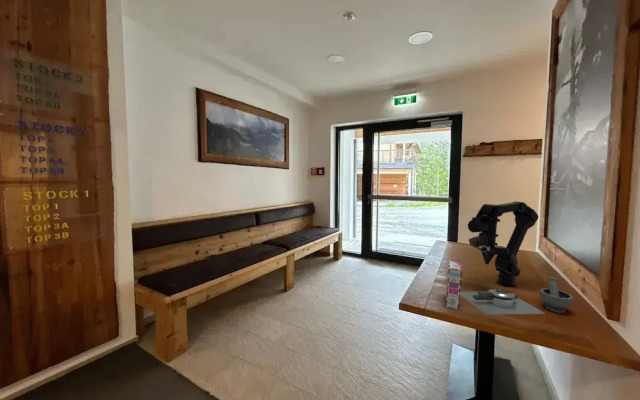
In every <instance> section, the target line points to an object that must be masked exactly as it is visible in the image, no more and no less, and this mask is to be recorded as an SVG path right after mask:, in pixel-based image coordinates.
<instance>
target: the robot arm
mask: <svg viewBox="0 0 640 400" xmlns="http://www.w3.org/2000/svg"><path fill="white" fill-rule="evenodd" d="M506 213H512V214H513V216H514V222H515V227H514V229H513V231H512V233H511V236H510V238H509V240H508V242H507V244H506V247H504V246H502V245H499V244H498V242H496V240H497V238H498V237H499V234H497V228H498V227H497V226H498V223H500V222H501V219H499V218H500V217H502V215H504V214H506ZM538 220H539V214H538V213H537V211H535V209H533V208H532V207H530V206H528V204H527V203H525V202H524V201H512V202H506V203H501V204H492V203H484V204H482V205H481V207H480V209H478V212H477V214H476V215H475V216H473V217H471V220H470V221H469V222H468V223H467V228H468V231H469V232H470V233H474V234H475V233H478V235H477V236H474V237H470V238H468V242H469V246H470V247H473V248H476V249H477V250H478V251H479V252H481V254H482V257H483V261H484V264H485V265H489V264H490V262H491V261H492V260H493V258H494V257H495V256H496V257H495V258H494V267H495V270H496V271H498V275H497V280H496V281H495V283H496V284H499V285H501V286H503V288H518V285H516V278H517V277H519V276H520V275H521V272H522V271H521V270H520V268H519V267H518V263H519V261H518V258H517V255H518V252H519V250H520V248H521V246H522V244H523V241H524V239H525V236H527V235H526V234H527V232H528V230H529V229H531V228H533V227H534V226H535V224H536V222H537V221H538Z"/></svg>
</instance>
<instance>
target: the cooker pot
mask: <svg viewBox="0 0 640 400" xmlns="http://www.w3.org/2000/svg"><path fill="white" fill-rule="evenodd" d="M473 298H474V299H475V300H487V301H488V302H489V303H491V304H492V305H495V306H498V307H502V308H512V307H513V302H514V299H518V298H519V296H518V295H516V294H515V298H500V297H496V296H480V295H473Z"/></svg>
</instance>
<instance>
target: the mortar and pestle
mask: <svg viewBox="0 0 640 400" xmlns="http://www.w3.org/2000/svg"><path fill="white" fill-rule="evenodd" d="M547 279H548V281H549V285H548V286H549V288H541V289H540V291H539V294H540V295H539V296H540V298H541V300H542V302H543V303H544V304H545V305H544V307H545V309H547V310H549V311H551V312H554V313H559V314H564V313H566V309H568V308H570V307H571V306H572V305H573V302H574V297H573V295H572V294H570V293H568V292H565V291H563V290H559V286H558V278H557V277H555V276H551V277H548V278H547Z"/></svg>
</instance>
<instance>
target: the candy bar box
mask: <svg viewBox="0 0 640 400" xmlns="http://www.w3.org/2000/svg"><path fill="white" fill-rule="evenodd" d="M462 274H463V267H462V264H461V262H460V261H459V262H457V261H451V260H448V266H447V277H446V290H445V292H446V293H445V308H449V309H455V310H460V300H461V295H460V292H461V290H462V289H461V286H462V277H463V275H462Z"/></svg>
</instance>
